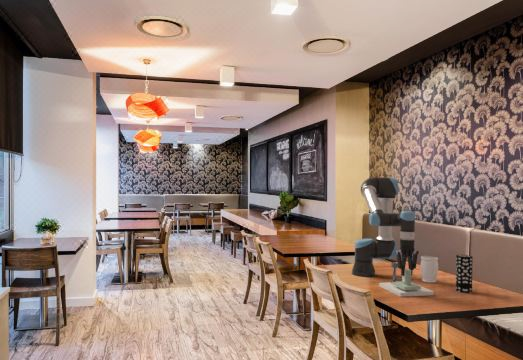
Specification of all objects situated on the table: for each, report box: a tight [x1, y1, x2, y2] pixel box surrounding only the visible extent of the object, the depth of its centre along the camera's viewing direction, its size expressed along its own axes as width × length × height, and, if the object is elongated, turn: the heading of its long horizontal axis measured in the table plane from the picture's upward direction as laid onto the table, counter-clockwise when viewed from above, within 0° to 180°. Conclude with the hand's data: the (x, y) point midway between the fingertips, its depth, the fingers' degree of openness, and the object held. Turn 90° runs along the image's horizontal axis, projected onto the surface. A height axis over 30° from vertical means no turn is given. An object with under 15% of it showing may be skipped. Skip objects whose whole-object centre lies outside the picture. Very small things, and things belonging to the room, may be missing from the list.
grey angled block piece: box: [390, 261, 402, 282], centre depth 241 cm, size 10×6×12 cm, turn 83°
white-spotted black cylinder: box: [455, 254, 474, 294], centre depth 234 cm, size 8×8×20 cm
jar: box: [419, 255, 439, 284], centre depth 258 cm, size 11×10×15 cm
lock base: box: [378, 281, 435, 297], centre depth 233 cm, size 23×20×2 cm
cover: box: [392, 268, 422, 290], centre depth 229 cm, size 12×10×10 cm
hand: (406, 281), depth 229 cm, fingers closed on cover, 2 cm apart
